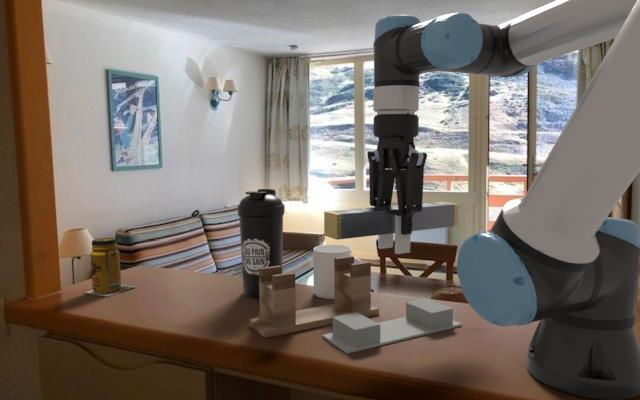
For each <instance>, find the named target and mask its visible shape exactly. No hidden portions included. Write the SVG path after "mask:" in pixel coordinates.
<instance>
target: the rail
mask: <svg viewBox="0 0 640 400" xmlns="http://www.w3.org/2000/svg"><path fill="white" fill-rule="evenodd" d="M405 207H406V206H405ZM397 212H399V210H398V204H397V205H391V206H385V207H374V206H371V207H361V208H351V209H350V208H349V209H338V210H326V211H325V210H324V211H323V215H324V216H323V222H324V223H323V226H324V227H323V228H324V229H323V231H324V232H323V234H324V236H325V237H328V238H330V239H333V240H337V241H338V240H345V239H356V238H363V237H372V236H378V235H383V234H392V233H393V234H395V215H396V214H395V213H397ZM458 223H459V203H454V202H447V201H446V202H445V201H437V202H435V201H434V202H422V211H421V212H417V213H415V214H413V216H412V232H416V231H424V230H425V231H426V230H433V229H442V228H443V229H444V228H450V227H451V228H453V227H458V225H459V224H458Z"/></svg>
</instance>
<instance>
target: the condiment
mask: <svg viewBox="0 0 640 400" xmlns="http://www.w3.org/2000/svg"><path fill="white" fill-rule="evenodd" d="M91 246H92V247H91V250H92V251H91V252H90V268H91V284H92V290H89V291H88V290H87V291H84V293H85V294H90V295H96V296H103V297H108V296H113V295H115V294H119V293H121V292H124V291H127V290H130V289H132V288H135V287H137V286H136V285H127V284H122V277H121V276H122V275H121V271H122V270H121V256H120V250H119V249H118V240H117V239H116V237H100V238H94V239H92V240H91Z"/></svg>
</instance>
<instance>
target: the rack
mask: <svg viewBox="0 0 640 400" xmlns="http://www.w3.org/2000/svg"><path fill="white" fill-rule="evenodd" d="M354 257H355V256H353V255H351V256H346V257H338V258H334V299H333V300H334V303H331V304H326V305H321V306H316V307H309V308H304V309H298V310H296V308H297V307H296V303H297V302H296V301H297V300H296V273H295V272H293V271H291V272H285V273H282V274H281V266H279V265H278V266H271V267H263V268H259V299H258V300H259V317H256V318H251V319H249V327H250V328H251V329H253V330H254V331H255V332H257V333H258V334H259V335H260V336H262V337H263V339H267V338H271V337H275V336H276V337H277V336H282V335H285V334H292V333H295V332H300V331H306V330H311V329H314V328H320V326H321V327H325V326H329V325H333V317H335V316H340V315H345V314H350V313H355V312H358V313H359V314H361V315H363V316H365V317H367V318H369V317H373V316H378V315H380V307H377V306H375V305H373V304H372V303H371V302H372V301H371V300H372V297H371V296H372V294H371V293H372V292H371V291H372V289H371V288H372V282H371V280H372V279H371V277H372V276H371V275H372V273H371V272H372V263H371V261H361V263H354Z"/></svg>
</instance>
